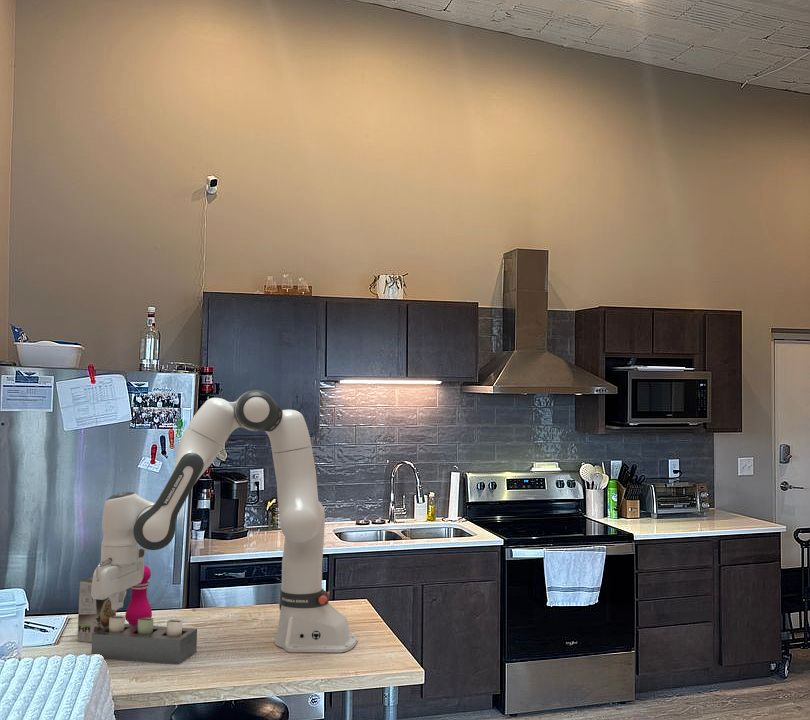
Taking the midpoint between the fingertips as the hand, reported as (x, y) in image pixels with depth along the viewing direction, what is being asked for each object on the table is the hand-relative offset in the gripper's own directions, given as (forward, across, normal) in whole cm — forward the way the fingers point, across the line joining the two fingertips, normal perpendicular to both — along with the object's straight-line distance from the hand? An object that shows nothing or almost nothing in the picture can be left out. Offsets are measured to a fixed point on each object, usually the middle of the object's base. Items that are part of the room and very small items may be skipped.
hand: (117, 608), depth 207 cm
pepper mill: (+12, +19, +4) cm, 23 cm away
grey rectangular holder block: (+11, 0, -8) cm, 14 cm away
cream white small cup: (+7, 0, -16) cm, 17 cm away
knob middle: (+7, 0, -8) cm, 11 cm away
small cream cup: (+7, 0, 0) cm, 7 cm away
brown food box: (+12, +11, +12) cm, 20 cm away
